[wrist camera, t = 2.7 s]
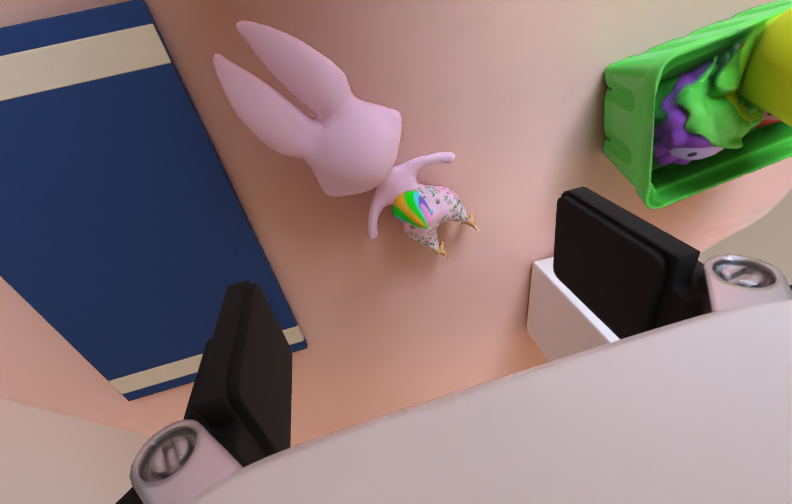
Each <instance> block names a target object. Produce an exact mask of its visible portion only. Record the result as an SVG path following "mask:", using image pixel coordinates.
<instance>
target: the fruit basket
mask: <svg viewBox="0 0 792 504" xmlns="http://www.w3.org/2000/svg"><path fill="white" fill-rule="evenodd" d="M605 81H606V84H607V86H608V88H607V90H606V94H605V98H604V131H605V135H606V136H607V138H606V139H605V143H604V146H603V151H604V154H605V155H606V156H607V157H608V158H609V159H610V160H611V162H612V163H613V164H614V165H615V166H616V167H617V168H618V169H619V170H620V171H621V173H622V174H623V175H624V176H625V177H626V178H627V179H628V180H629V181H630V183H631V184H632V185H633V186H634V187H635V188H636V191H637V194H638V195H639V197H640V198H641V199H642V201H643V202H644V203H645V205H646V206H647V207H648V208H650V209H659V208H663V207H665V206H668V205H670V204H673V203H675V202H678V201H680V200H683V199H685V198H687V197H690V196H693V195H695V194H698V193H700V192H702V191H704V190H707V189H709V188H712V187H715V186H718V185H720V184H722V183H725V182H727V181H730V180H733V179H735V178H738V177H740V176H742V175H745V174H748V173H751V172H754V171H756V170H759V169H761V168H763V167H766V166H768V165H770V164H773V163H776V162H778V161H781V160H783V159H785V158H788V157H791V156H792V0H778V1H774V2H771V3H767V4H763V5H759V6H757V7H754V8H751V9H749V10H746V11H744V12H741V13H739V14H737V15H735V16H734V17H732V18H731V19H729V20H724V21H720V22H717V23H714V24H711V25H709V26H706V27H704V28H701V29H699V30H696V31H694V32H692V33H691V34H689V35H688V36H687V37H682V38H678V39H673V40H671V41H668V42H666V43H663V44H661V45H658V46H656V47H653V48H651V49H649V50H648V51H647V52H645V53H644V54H641V55H636V56H631V57H628V58H626V59H623V60H621V61H618V62H616V63H613V64H611V65H609V66H608V67H607V68H606V69H605Z"/></svg>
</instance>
